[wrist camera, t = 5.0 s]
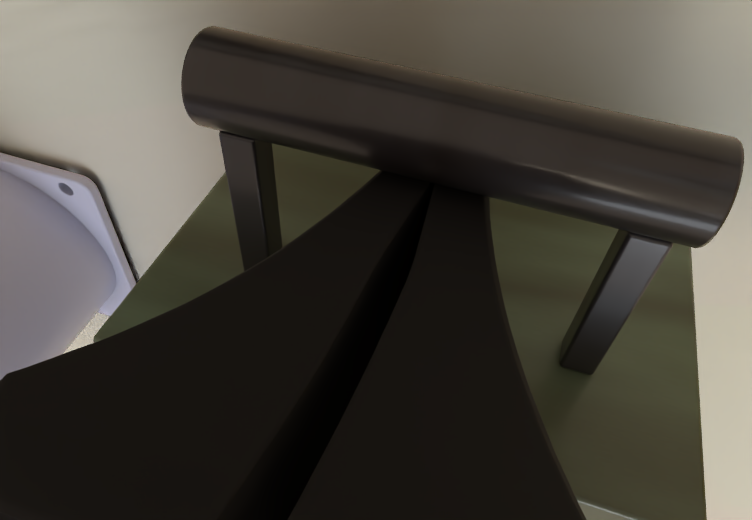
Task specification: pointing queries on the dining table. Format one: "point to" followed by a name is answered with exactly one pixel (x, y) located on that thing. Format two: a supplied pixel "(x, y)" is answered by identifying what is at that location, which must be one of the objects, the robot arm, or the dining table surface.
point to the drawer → (509, 232)
